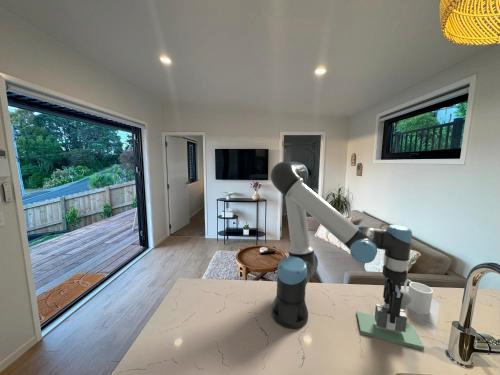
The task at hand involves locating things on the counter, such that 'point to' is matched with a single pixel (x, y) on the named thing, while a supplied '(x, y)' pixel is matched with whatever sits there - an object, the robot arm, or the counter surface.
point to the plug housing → (382, 318)
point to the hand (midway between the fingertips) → (388, 323)
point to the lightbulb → (405, 299)
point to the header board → (388, 331)
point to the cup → (419, 297)
